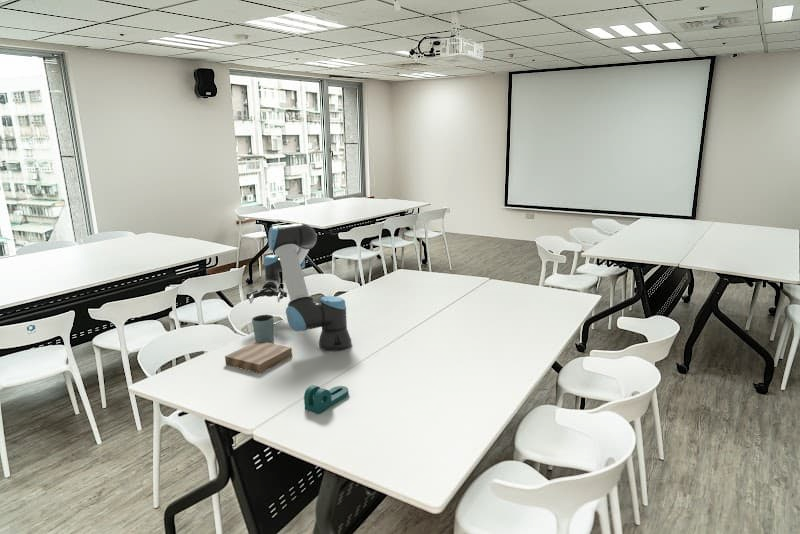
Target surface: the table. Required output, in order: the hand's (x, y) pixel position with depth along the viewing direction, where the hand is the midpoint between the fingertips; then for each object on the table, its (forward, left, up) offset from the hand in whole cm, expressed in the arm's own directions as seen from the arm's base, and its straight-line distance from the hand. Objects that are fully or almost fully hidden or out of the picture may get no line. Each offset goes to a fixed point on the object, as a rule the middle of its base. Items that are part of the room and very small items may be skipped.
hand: (264, 300), depth 249 cm
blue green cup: (-6, +8, -18) cm, 20 cm away
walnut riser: (-20, +26, -18) cm, 37 cm away
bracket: (-70, +42, -18) cm, 84 cm away
